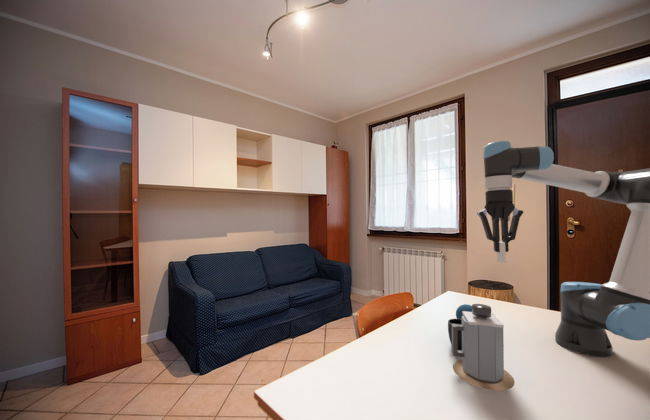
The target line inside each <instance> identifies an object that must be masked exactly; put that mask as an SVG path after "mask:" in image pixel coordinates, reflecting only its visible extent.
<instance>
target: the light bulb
mask: <svg viewBox="0 0 650 420" xmlns="http://www.w3.org/2000/svg"><path fill="white" fill-rule="evenodd" d="M462 311H467V312H472V304H471V305H470V304H465V303H464V304H461V305H459V306H457V309H456V311H455V317H456V318H455V319H462V316H463V314H462Z"/></svg>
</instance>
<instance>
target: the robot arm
mask: <svg viewBox="0 0 650 420" xmlns="http://www.w3.org/2000/svg"><path fill="white" fill-rule="evenodd" d="M554 156H555V155H554V151H553V150H552V148H551V147H550V146H539V145H537V146H527V147H526V146H525V147H512V145H511V142H510V141H508V140H499V141H492V142H490V143H487V144H485V145H484V148H483V158H482V159H483V166H484V167H483V169H484V188H485V190H486V191H485V193H484V194H485V205H484V209H482V210H479V211H477V213H476V214H477V216H478V217H479V218H480V221H481V223H482V227H483V230H484V233H485V237H486V239H487V240H489V241H492V242H493V251H494V252H495V253H496V254H497V262H498V263H501V264H506V263H507V256H506V255H507V254H506V253H508V252H509V251H510V249H509V248H510V247H509V243H510V242H511V241H514V240H516V235H517V231H518V227H519V223H520V219H521V217H522V216H523V214H524V211H523V209H522V210H521V209H518V208H516V206H515V204H514V196H513V195H514V194H513V190H512V189H513V179H514V178H515V179H519V180H524V181H528V182H534V183H537V184H542V185H548V186H552V187H557V188H562V189H566V190H570V191H576V192H580V193H584V194H585V195H586V196H587V197H591V198H595V199H599V200H603V201H607V202H613V203H617V204H621V205H626V207H627V209H629V211H630V215H629V219H628V221H627V225H626V228H625V231H624V233H623V237H622V240H621V243H620V246H619V249H618V252H617V256H616V260H615V262H614V266H613V269H612V271H611V275H610V278H609V281H608V282H604V283H603V284H601V283H595V282H585V281H565V282H562V283H561V284H560V291H559V293H560V322H559V325H558V327H557V329H556V331H555V334H554V337H555V338H554V340H555V342H556V343H557V344H558V345H559V346H561V347H563V348H564V349H567V350H570V351H572V352H575V353H578V354H583V355H587V356H592V357H597V358H598V357H599V358H600V357H601V358H606V357H607V358H608V357H611V356H613V355H614V353H613V351H614V349H613V346H612V342H611V341H610V337H609V335H608V333H607V331H609V332H610V333H611V334H613V335H615V336H618V337H622V338H624V339H627V340H631V341H644V340H646V339H650V167H649V168H641V169H635V170H628V171H617V172H616V171H615V172H614V171H613V172H610V171H604V170H598V171H595V172H594V171H588V170H584V169H579V168H574V167H568V166H564V165H560V164H554V160H555V157H554ZM511 214H512V218H511V221H510V220H509V216H510V215H511ZM487 215H489V216H490V217H491V223H492V225H491V226H492V228H491V226H490V223H489V220H488V217H487ZM509 221H510V226H509ZM491 229H492V230H491ZM500 232H501V233H500ZM500 235H501V237H500ZM500 239H501V240H500Z"/></svg>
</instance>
